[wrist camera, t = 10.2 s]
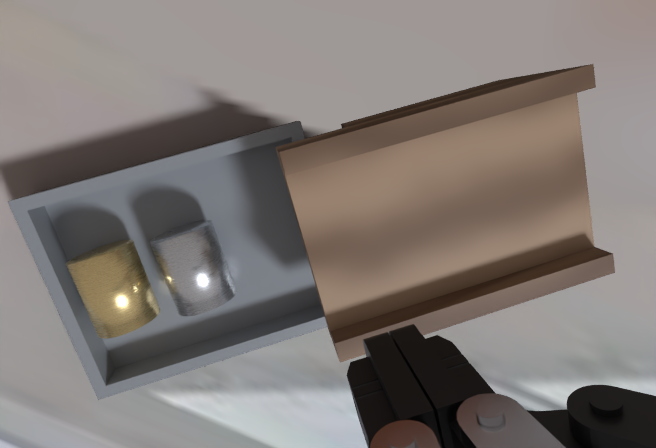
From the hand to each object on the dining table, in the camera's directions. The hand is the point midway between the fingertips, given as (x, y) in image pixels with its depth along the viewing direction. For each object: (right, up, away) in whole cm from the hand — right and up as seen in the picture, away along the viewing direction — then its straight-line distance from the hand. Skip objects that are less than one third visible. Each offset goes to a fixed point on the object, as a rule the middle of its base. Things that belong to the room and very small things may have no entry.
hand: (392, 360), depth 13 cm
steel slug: (-11, 0, +15) cm, 19 cm away
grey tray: (-11, +2, +19) cm, 22 cm away
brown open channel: (+4, +6, +21) cm, 22 cm away
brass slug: (-17, -1, +15) cm, 22 cm away
